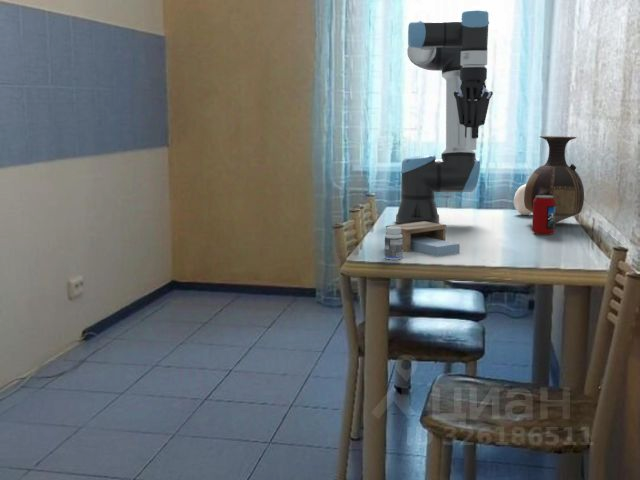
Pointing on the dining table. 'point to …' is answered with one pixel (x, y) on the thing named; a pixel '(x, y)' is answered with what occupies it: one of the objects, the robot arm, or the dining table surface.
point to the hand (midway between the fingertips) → (471, 149)
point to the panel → (433, 246)
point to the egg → (521, 201)
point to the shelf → (421, 232)
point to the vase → (556, 181)
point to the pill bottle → (393, 243)
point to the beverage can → (543, 215)
